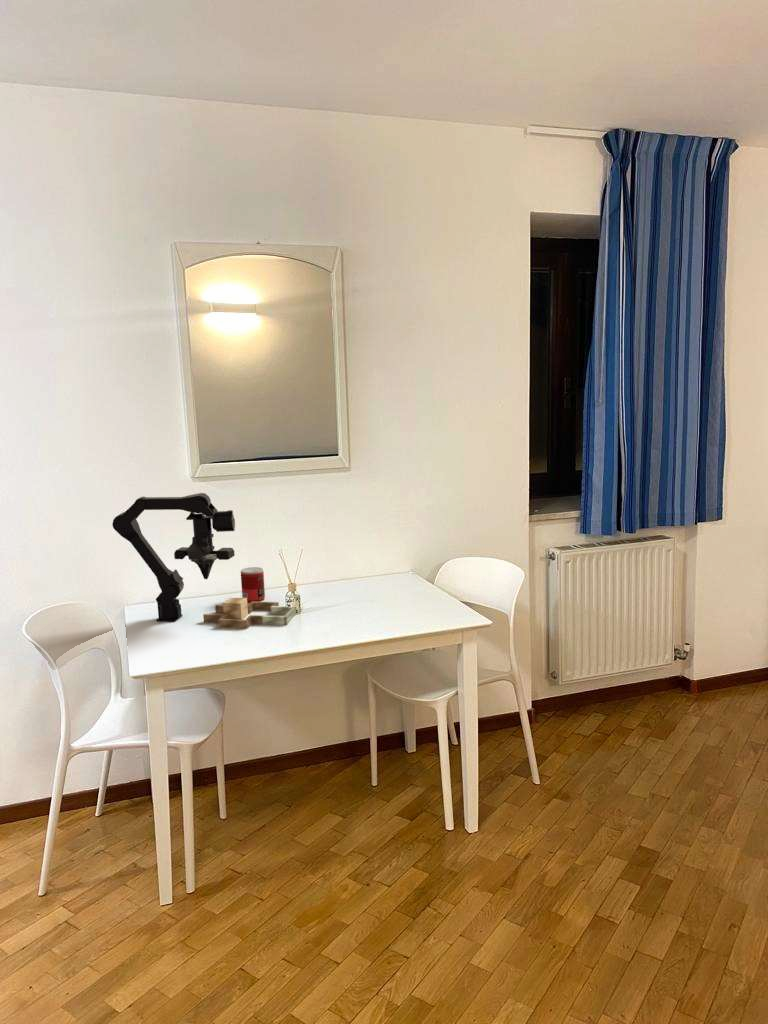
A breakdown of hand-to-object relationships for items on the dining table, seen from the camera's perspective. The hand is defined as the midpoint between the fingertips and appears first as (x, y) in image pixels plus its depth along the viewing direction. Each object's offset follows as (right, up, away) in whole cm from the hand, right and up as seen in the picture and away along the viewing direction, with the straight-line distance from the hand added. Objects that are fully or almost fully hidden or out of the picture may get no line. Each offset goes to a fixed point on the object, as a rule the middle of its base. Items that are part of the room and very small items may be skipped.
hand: (206, 578), depth 249 cm
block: (+10, -13, +1) cm, 16 cm away
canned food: (+12, -9, +20) cm, 25 cm away
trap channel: (+15, -13, 0) cm, 19 cm away
